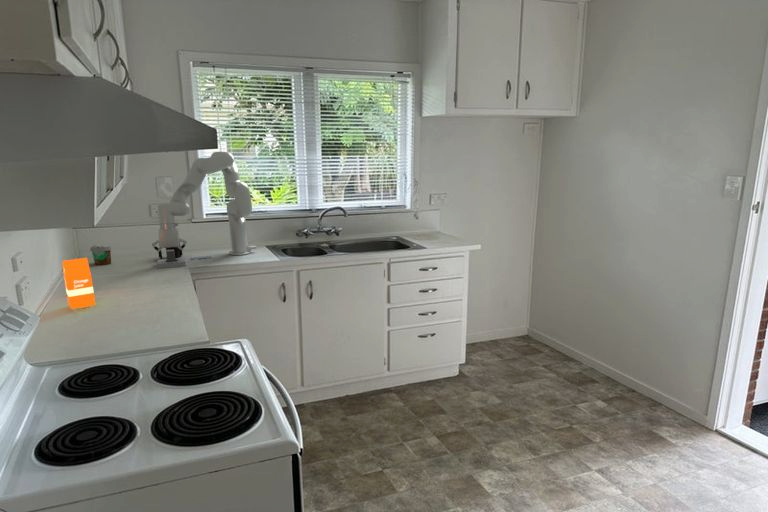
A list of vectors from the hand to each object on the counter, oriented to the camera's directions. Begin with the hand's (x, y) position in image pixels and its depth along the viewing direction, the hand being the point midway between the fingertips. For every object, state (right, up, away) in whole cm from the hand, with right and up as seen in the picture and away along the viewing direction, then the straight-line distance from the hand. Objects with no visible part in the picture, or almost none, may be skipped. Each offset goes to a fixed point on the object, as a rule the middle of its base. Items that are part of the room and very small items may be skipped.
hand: (171, 257), depth 274 cm
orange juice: (-9, -20, -65) cm, 69 cm away
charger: (0, -4, +1) cm, 4 cm away
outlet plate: (0, -4, +1) cm, 4 cm away
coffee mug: (-6, 0, +20) cm, 20 cm away
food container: (-41, -4, +4) cm, 41 cm away
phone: (+10, -1, +16) cm, 19 cm away
